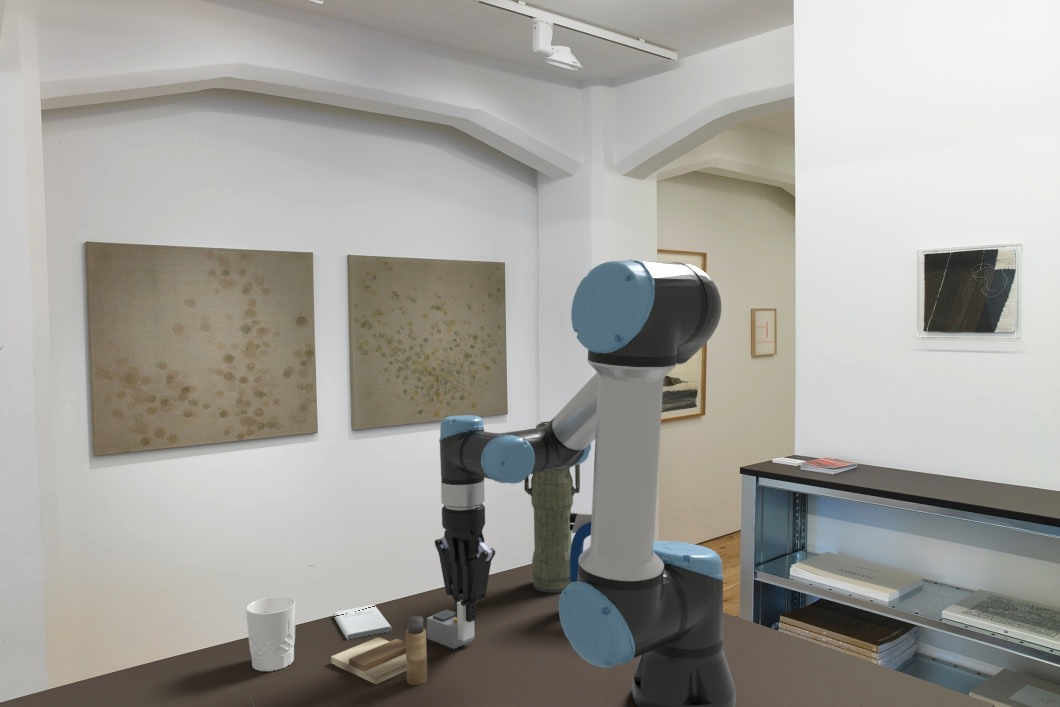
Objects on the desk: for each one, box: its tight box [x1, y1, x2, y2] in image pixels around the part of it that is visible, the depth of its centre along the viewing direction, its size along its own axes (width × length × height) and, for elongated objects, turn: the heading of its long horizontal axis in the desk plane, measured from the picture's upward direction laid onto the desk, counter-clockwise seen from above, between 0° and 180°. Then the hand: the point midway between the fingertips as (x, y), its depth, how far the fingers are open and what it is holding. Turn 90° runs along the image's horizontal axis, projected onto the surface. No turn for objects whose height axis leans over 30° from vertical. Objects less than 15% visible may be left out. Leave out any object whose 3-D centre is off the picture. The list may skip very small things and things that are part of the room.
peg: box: [405, 615, 428, 686], centre depth 123 cm, size 3×3×10 cm
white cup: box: [245, 596, 296, 672], centre depth 131 cm, size 8×8×10 cm
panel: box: [330, 636, 407, 685], centre depth 130 cm, size 12×10×2 cm
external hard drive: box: [333, 604, 393, 641], centre depth 147 cm, size 2×8×12 cm
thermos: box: [523, 420, 581, 594], centre depth 165 cm, size 9×12×35 cm
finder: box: [426, 609, 475, 650], centre depth 139 cm, size 7×5×4 cm
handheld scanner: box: [570, 510, 592, 582], centre depth 150 cm, size 5×16×20 cm, turn 78°
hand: (466, 637), depth 136 cm, fingers closed
